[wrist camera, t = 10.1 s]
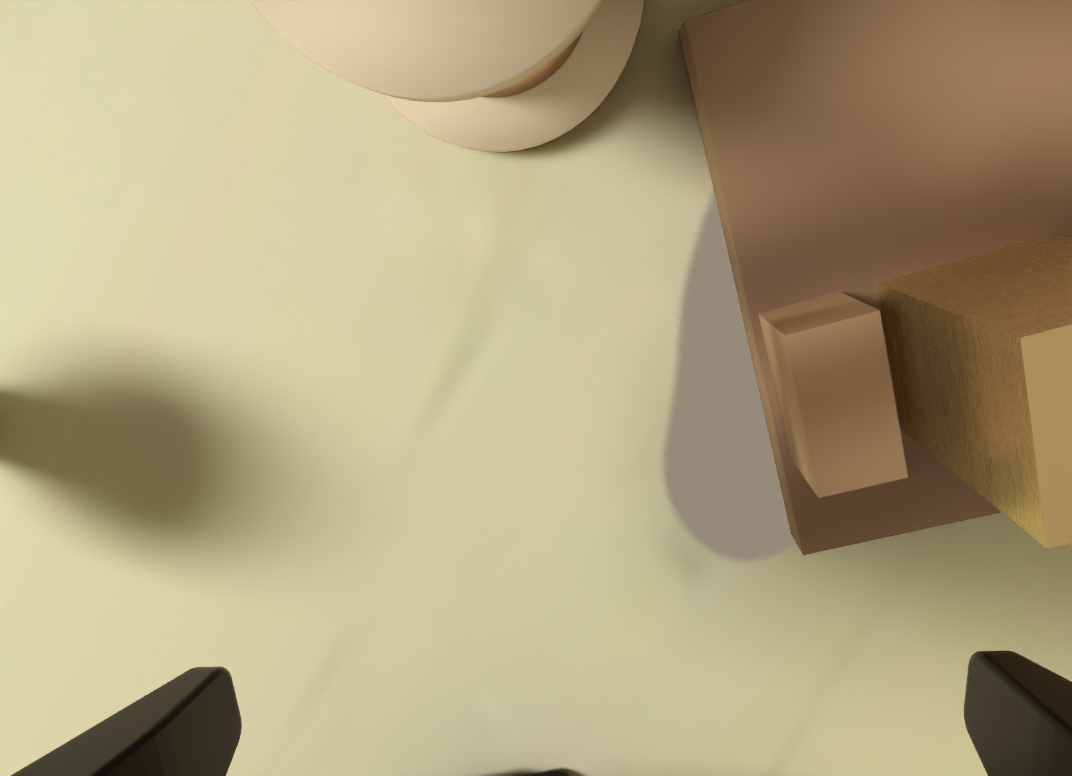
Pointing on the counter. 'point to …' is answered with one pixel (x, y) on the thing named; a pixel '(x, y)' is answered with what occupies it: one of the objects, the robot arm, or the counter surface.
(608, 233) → the counter surface
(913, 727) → the counter surface
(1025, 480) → the tan block
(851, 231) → the notch board
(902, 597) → the counter surface
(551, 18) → the bobbin
